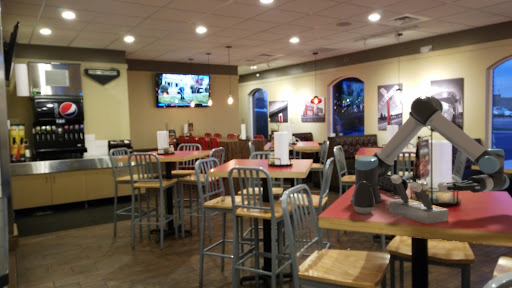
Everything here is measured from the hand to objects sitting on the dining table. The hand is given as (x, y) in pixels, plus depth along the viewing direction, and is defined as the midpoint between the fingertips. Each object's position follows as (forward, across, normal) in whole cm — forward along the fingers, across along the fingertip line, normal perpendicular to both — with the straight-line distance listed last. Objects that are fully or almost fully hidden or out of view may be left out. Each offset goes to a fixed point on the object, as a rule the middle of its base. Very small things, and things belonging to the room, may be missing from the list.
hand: (440, 188), depth 170 cm
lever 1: (+6, +14, -8) cm, 17 cm away
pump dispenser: (+23, +23, -14) cm, 35 cm away
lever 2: (+6, 0, -8) cm, 10 cm away
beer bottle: (-38, +52, -14) cm, 66 cm away
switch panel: (+6, +7, -13) cm, 16 cm away
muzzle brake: (-21, +59, -14) cm, 64 cm away
